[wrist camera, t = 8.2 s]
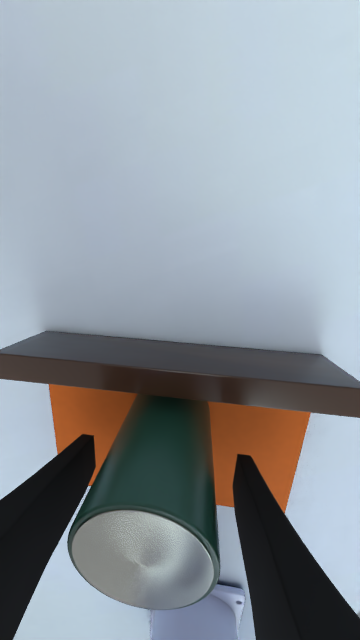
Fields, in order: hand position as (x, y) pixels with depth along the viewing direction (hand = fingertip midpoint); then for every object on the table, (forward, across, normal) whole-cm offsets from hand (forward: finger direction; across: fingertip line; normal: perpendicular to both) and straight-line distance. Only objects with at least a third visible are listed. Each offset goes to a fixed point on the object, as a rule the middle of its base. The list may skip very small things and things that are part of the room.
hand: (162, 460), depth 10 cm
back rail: (+4, 0, -4) cm, 6 cm away
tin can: (+3, 0, 0) cm, 3 cm away
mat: (+4, 0, +2) cm, 4 cm away
